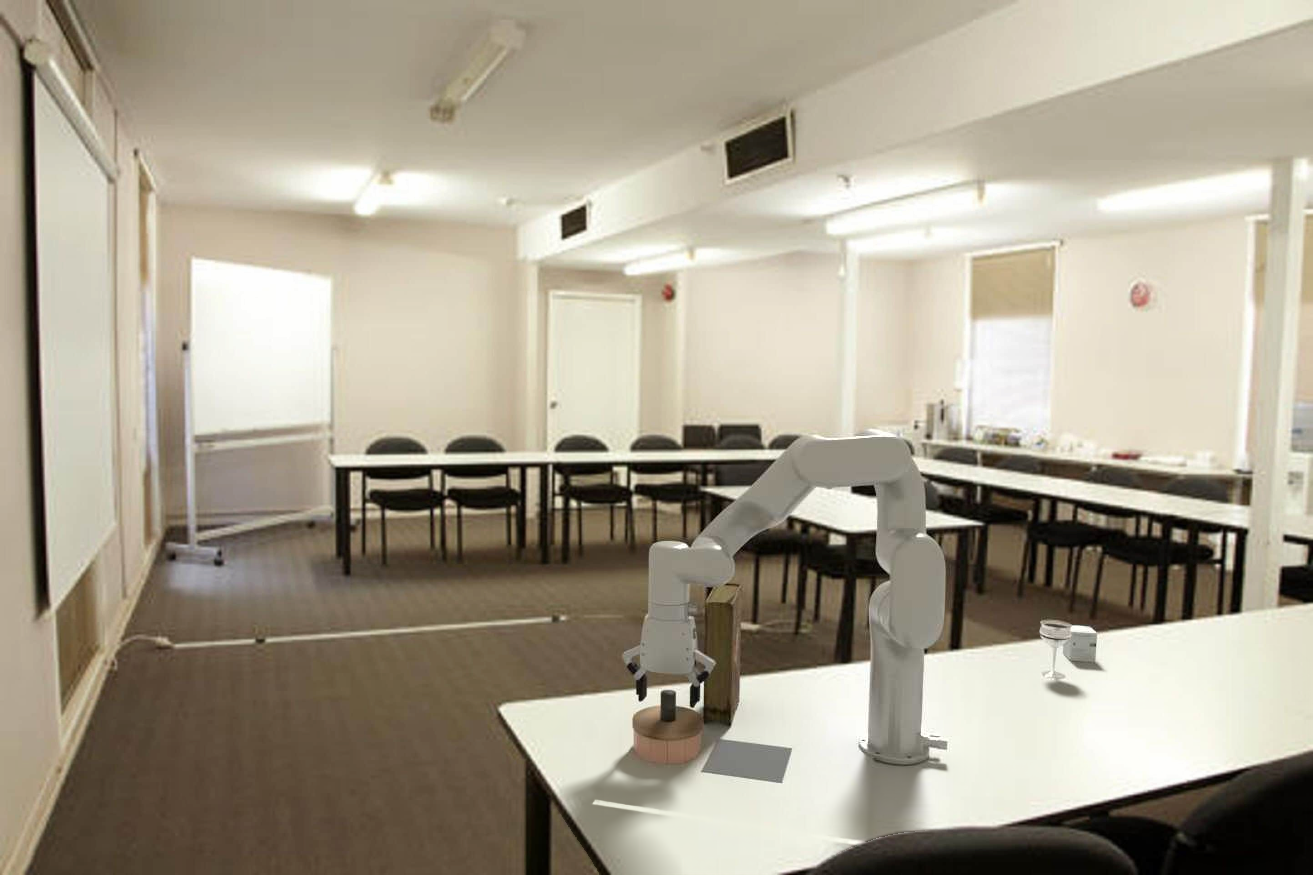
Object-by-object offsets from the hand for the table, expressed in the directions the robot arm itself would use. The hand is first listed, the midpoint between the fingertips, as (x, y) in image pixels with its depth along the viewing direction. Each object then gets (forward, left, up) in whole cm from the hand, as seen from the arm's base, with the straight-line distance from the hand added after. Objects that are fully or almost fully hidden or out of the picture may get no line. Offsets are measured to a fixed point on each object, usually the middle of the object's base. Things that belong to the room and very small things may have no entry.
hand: (667, 701), depth 162 cm
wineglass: (-75, -66, -10) cm, 100 cm away
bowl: (0, 0, -9) cm, 9 cm away
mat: (-15, 0, -9) cm, 18 cm away
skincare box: (-83, -81, -10) cm, 116 cm away
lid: (0, 0, -4) cm, 4 cm away
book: (-6, -21, -10) cm, 24 cm away
